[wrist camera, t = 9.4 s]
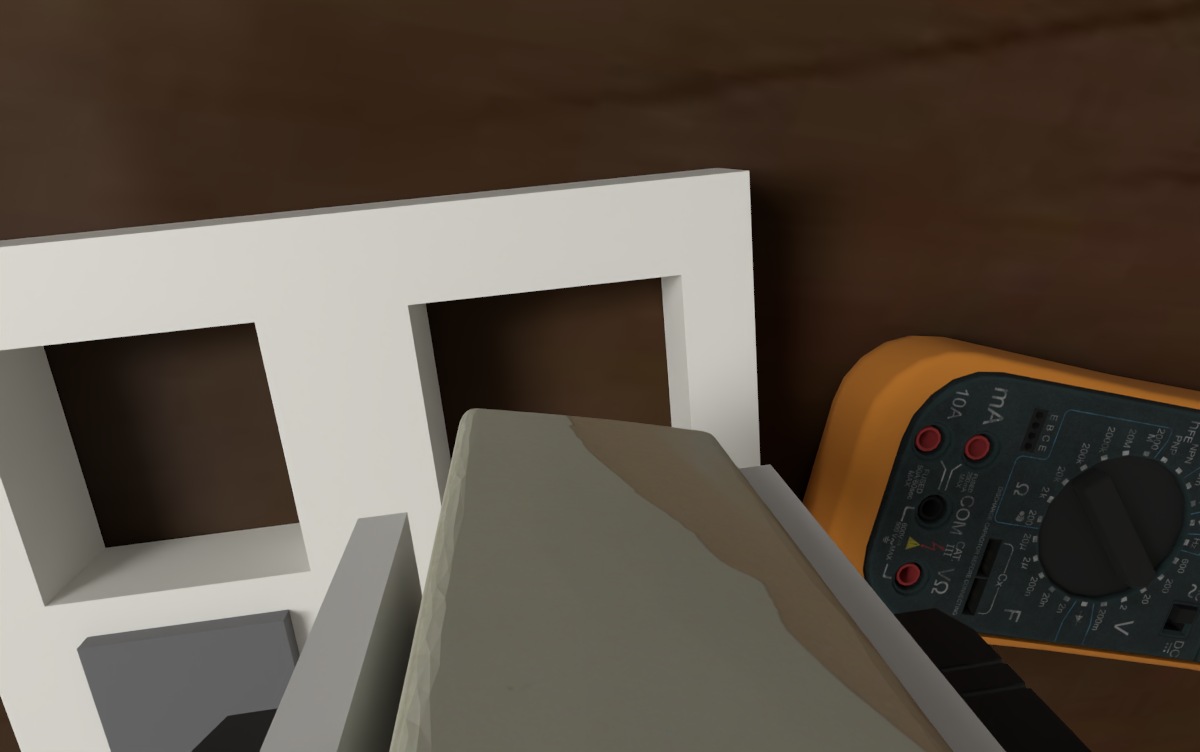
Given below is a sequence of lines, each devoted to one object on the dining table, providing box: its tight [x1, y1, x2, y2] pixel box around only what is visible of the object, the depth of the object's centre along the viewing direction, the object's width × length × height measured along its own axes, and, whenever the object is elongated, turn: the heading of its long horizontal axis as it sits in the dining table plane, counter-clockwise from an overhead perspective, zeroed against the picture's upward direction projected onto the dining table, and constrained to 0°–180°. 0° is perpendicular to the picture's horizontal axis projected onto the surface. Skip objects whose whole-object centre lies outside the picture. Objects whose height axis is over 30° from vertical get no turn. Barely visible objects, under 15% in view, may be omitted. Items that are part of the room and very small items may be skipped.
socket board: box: [0, 168, 760, 752], centre depth 21 cm, size 20×14×4 cm
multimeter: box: [802, 336, 1200, 671], centre depth 24 cm, size 9×18×4 cm, turn 78°
